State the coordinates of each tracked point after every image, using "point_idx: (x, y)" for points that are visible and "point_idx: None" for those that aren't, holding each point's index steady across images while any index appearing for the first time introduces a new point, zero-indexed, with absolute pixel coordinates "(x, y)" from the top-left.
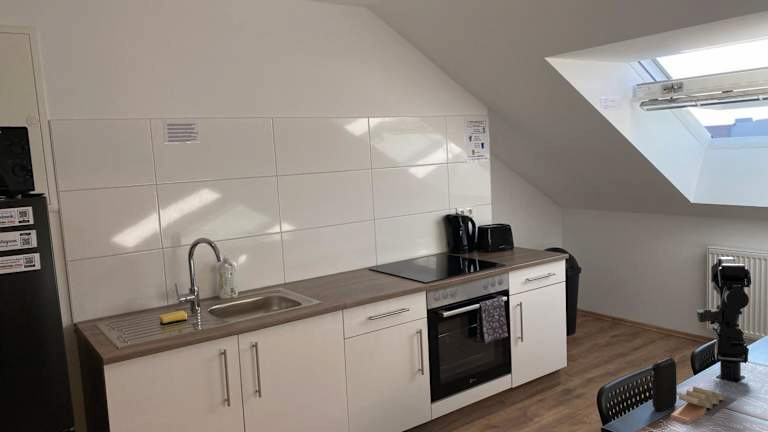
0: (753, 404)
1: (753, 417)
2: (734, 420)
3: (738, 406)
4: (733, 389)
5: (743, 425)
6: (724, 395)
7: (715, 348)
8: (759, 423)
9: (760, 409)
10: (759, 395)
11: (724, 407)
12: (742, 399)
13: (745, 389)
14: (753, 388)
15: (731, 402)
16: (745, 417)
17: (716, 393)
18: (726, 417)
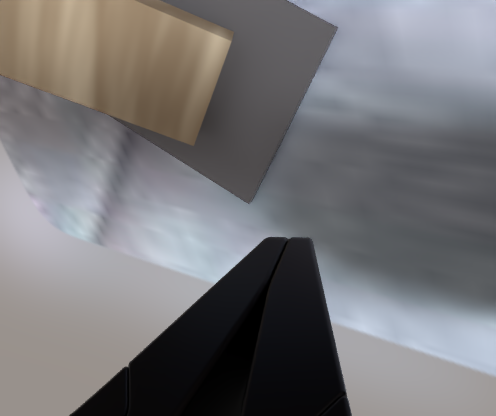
0: (224, 258)
1: (93, 219)
2: (34, 141)
3: (175, 186)
4: (431, 215)
5: (13, 166)
6: (177, 138)
7: None
8: (55, 225)
9: (179, 268)
10: (356, 322)
11: (115, 118)
12: (271, 226)
13: (445, 284)
14: (474, 331)
15: (189, 162)
16: (79, 189)
17: (56, 92)
18: (43, 113)
